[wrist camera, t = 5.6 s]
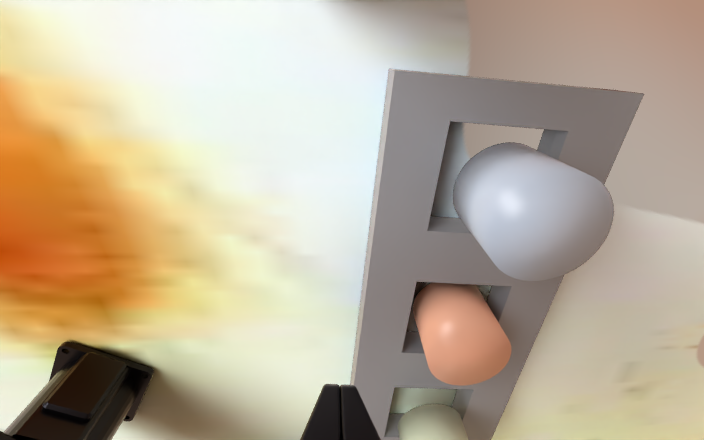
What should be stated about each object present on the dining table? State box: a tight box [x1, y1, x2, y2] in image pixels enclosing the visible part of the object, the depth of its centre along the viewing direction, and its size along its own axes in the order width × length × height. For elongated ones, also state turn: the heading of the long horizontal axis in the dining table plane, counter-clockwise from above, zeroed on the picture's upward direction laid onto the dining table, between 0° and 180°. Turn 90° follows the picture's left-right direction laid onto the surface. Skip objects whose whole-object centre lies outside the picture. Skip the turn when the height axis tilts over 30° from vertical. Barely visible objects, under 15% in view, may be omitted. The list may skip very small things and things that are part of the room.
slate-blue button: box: [453, 143, 614, 281], centre depth 15 cm, size 5×5×4 cm
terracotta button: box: [413, 282, 511, 386], centre depth 21 cm, size 5×5×4 cm
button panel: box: [350, 69, 644, 440], centre depth 23 cm, size 29×12×2 cm, turn 175°
